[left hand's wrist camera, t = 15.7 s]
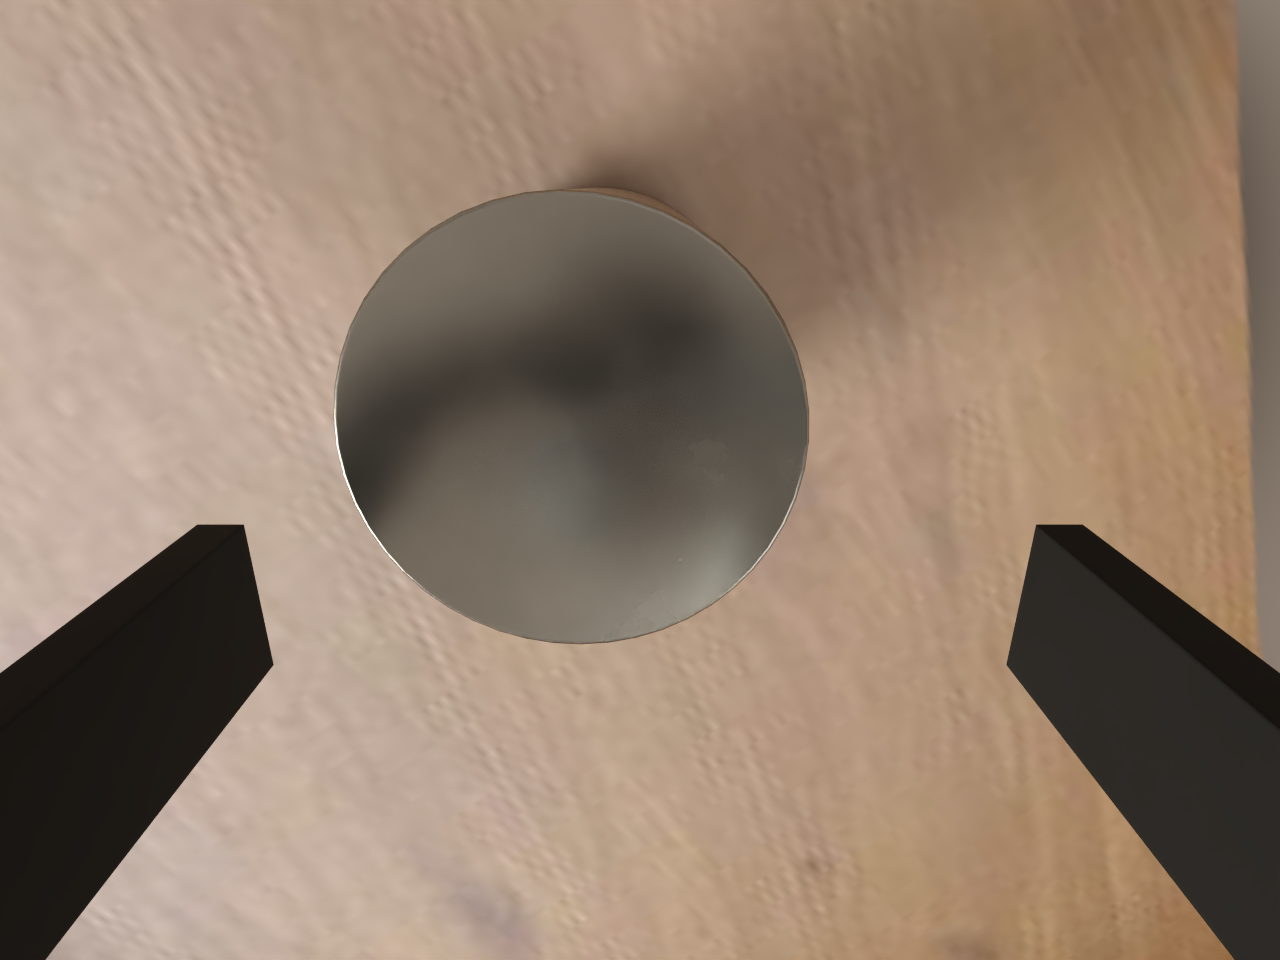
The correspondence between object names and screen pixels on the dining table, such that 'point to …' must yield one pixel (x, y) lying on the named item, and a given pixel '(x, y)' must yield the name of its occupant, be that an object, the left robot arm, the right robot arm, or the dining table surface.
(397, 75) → the dining table surface
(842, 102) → the dining table surface
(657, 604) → the tin
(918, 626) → the dining table surface
